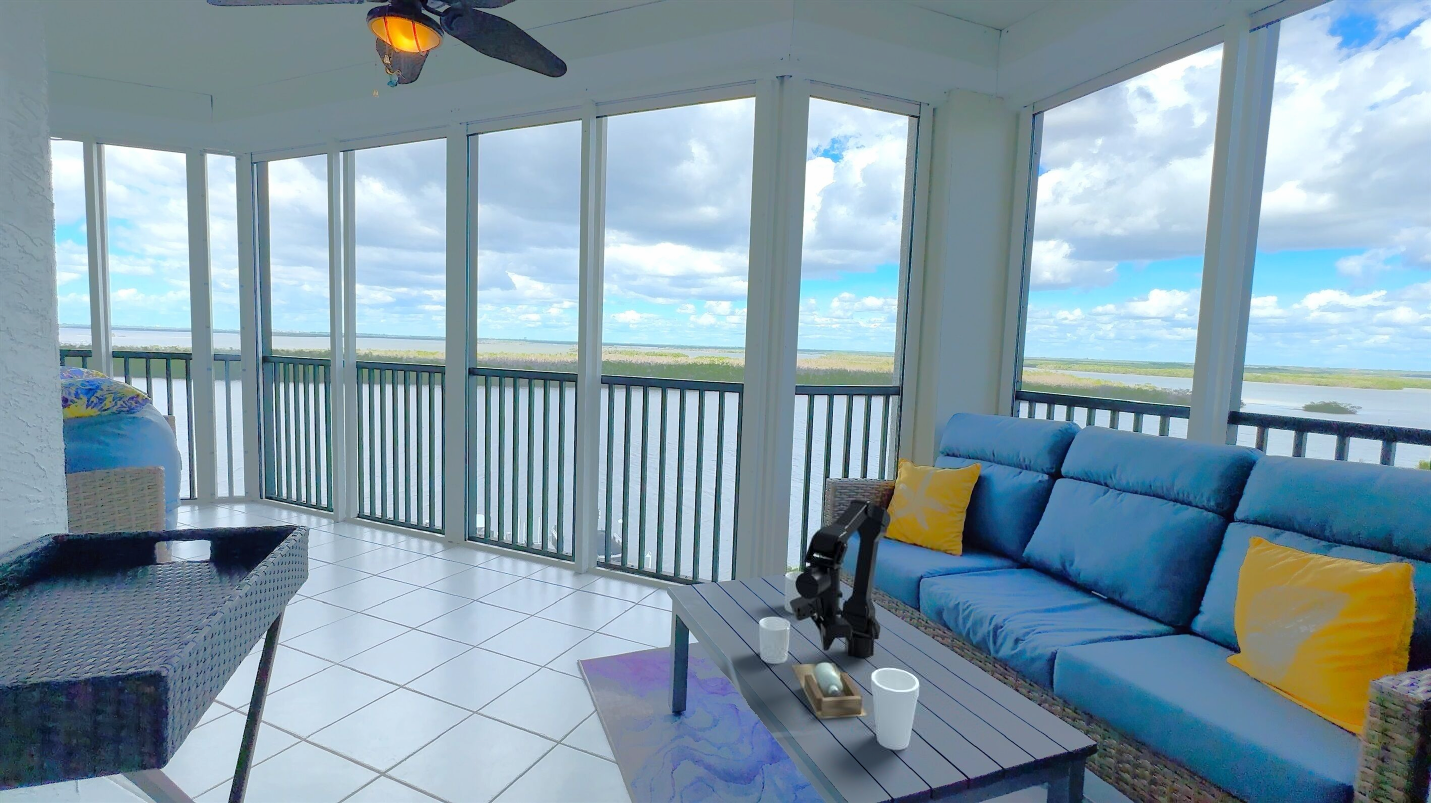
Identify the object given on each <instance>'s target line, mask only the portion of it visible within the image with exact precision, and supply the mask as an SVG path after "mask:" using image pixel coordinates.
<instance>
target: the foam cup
mask: <svg viewBox="0 0 1431 803" xmlns="http://www.w3.org/2000/svg"><path fill="white" fill-rule="evenodd" d="M870 690H871V692H872V701H873V711H874V722H875V724H874V726H875V733H876V734H875V735H876V740H877V742H878V743H879V745H880V746H883V747H884V748H886V749H889V750H893V751H901V750H904V749H906V748H907V747H908V746H909V743H910V740H911V735H912V728H913V723H914V718H915V713H916V707H917V704H918V703H917V701H918V698H919V697H920V696H919V694H920V693H919V692H920V682H919V679H918V678H917V677H916V676H915V675H914V674H912V673H910V672H908V671H906V670H903V669H899V668H894V667H892V668H891V667H883V668H882V667H881V668H879V669H876V670H874V671H873V672H872V673H871V683H870Z"/></svg>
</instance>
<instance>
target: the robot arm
mask: <svg viewBox="0 0 1431 803" xmlns="http://www.w3.org/2000/svg"><path fill="white" fill-rule="evenodd" d="M890 524H891V514H890V513H889V512H888V510H887V509H886V508H885V507H880V506H878V505H876V504H874V503H873V502H872V501H869V500H863V499H858V498H854V499H852V500H851V501H850V504H849V506H848V507H847V508H846V509H845V510H844V511H843V512H842V514H840V515H839V517H837V519H836V520H835V521H834V522H833V523H832V524H829V525H826V526H823V527H821V528H820V529H818V530H817V531H816V532H815V533H814V534H813V535H812V536H811V540H810V542H809V545H808V547H807V550H806V551H807V552H806V554H805V556H804V563H807V564H809V565H806V566H805V567H804V568H803V571H802V572H803V573H801V574H800V575H799V576H798V577H797V579H796V581H795V585H796V589H797V591H798V593H799V594H800V595H801V597H798V598H796V599H793V600H791V601H790V605H791V608H792V611H793V613H792V614H793V615H794V618H795V620H797V621H799V622H800V621H804V620H806V619H808V618H810V619H811V621H812V622H813V623H814V624H815V626H816V627H817V629H818V633H819V634H818V635H819V637H820V639H819V640H820V643H821V647H822V650H823V651H824V652H827V651H829V650H830V648H831V646H832V644H833V643H834V641H835V640H836V639H843V638H844V653H845V654H846V656H848V657H855V658H857V659H868V658H870V657H871V656H872V657H873V656H874V650H875V640H878V639H880V632H881V625H880V624H879V621H878V620H877V619H876V608H875V605H874V602H873V600H872V591H873V584H874V578H875V570H876V565H877V557H878V551H879V550H878V549H879V542H880V541H881V540H882V539H883V538H884V536H885V535H886V534H887V532H888V528H889V526H890ZM856 531H857V534H858V536H859V544H858V545H859V546H858V552H857V558H856V559H857V560H856V566H855V572H854V579H853V585H852V586H853V587H852V591H851V592H852V593H851V595H850V597H848V599H846V600H844V601H843V604H842V608H841V607H840V600H841V598H843V596H844V593H843V592H842V590H841V568H842V567H841V565H842V564H844V561H845V560H844V559H845V556H846V554H847V551H848V550H849V549H848V548H849V546H848V542H849V539H850V538H851V537H852V536H853V534H854V533H855V532H856ZM815 555H816V556H815Z"/></svg>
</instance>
